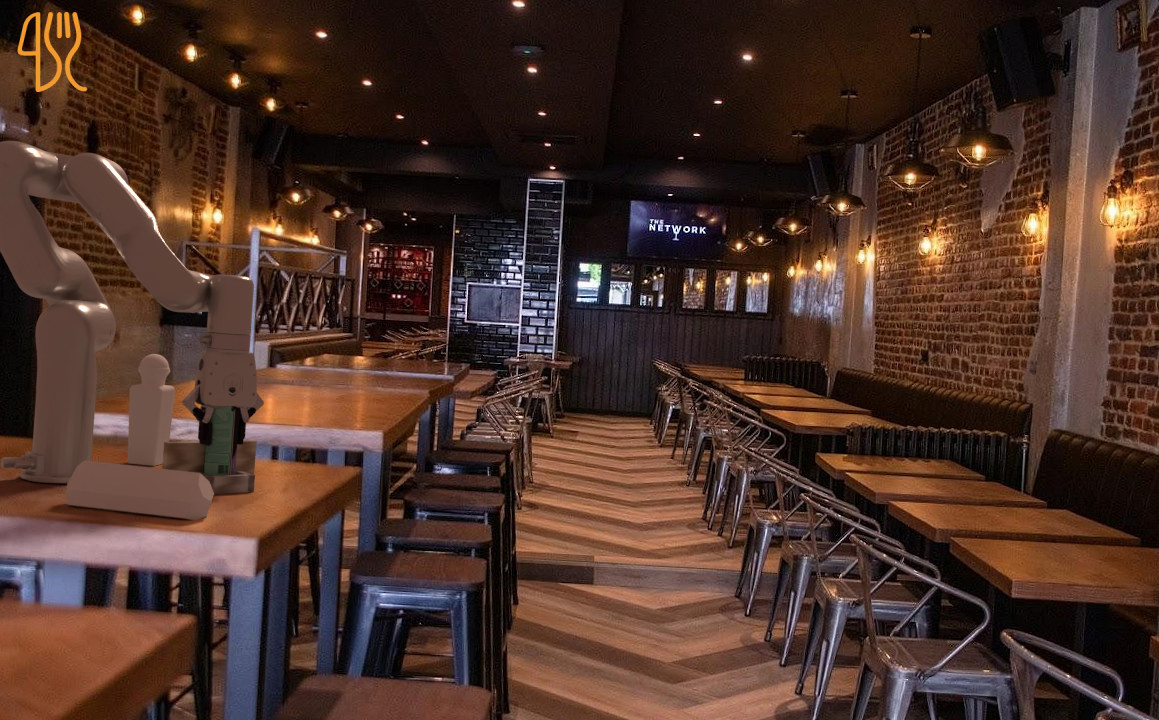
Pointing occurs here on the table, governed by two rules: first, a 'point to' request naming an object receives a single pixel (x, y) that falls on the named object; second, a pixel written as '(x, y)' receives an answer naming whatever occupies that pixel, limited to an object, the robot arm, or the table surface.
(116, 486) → the chamfered beige bar
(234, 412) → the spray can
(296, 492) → the table surface
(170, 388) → the beige square bottle
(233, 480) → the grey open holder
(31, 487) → the table surface
